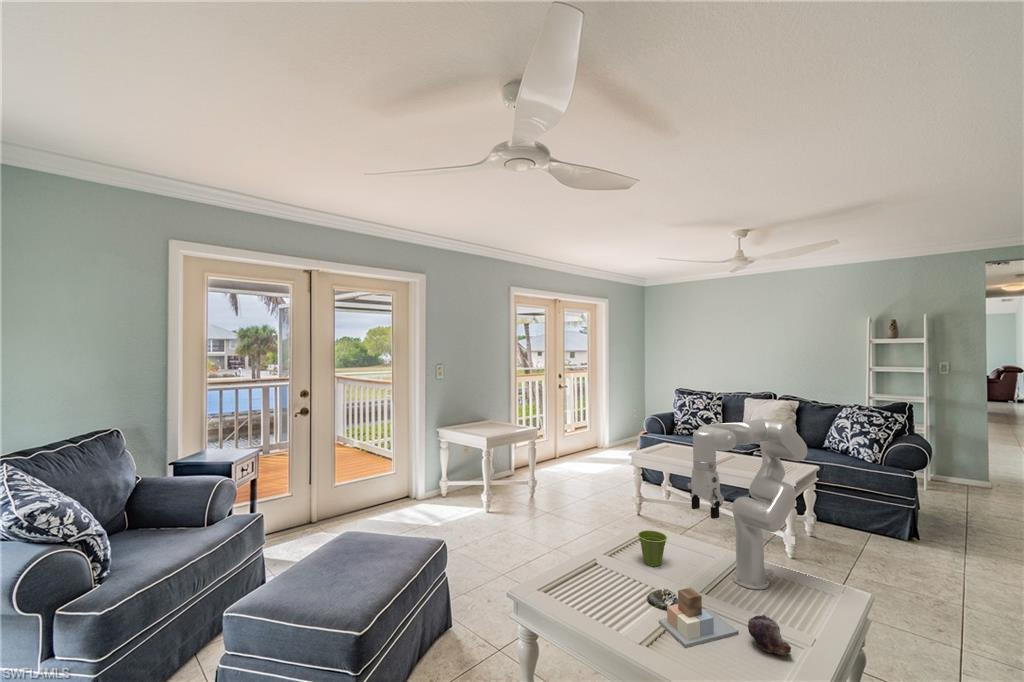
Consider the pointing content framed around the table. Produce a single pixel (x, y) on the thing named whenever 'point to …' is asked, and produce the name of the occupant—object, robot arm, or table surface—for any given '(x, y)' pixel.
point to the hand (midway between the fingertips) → (705, 513)
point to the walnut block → (690, 602)
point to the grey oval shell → (662, 599)
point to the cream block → (688, 626)
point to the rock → (767, 635)
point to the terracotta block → (673, 615)
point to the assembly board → (720, 631)
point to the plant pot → (652, 546)
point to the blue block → (706, 623)
